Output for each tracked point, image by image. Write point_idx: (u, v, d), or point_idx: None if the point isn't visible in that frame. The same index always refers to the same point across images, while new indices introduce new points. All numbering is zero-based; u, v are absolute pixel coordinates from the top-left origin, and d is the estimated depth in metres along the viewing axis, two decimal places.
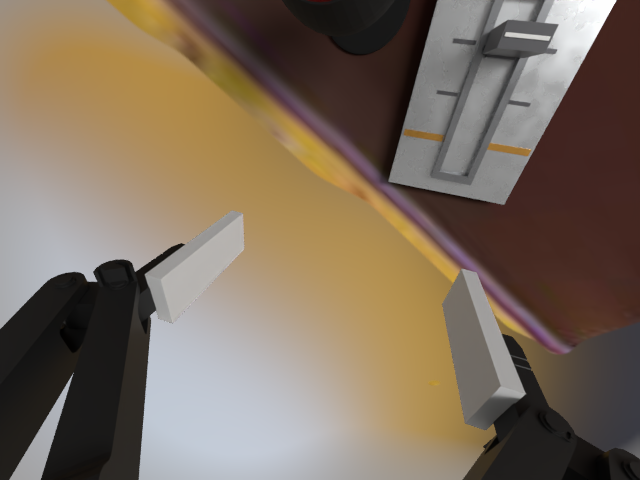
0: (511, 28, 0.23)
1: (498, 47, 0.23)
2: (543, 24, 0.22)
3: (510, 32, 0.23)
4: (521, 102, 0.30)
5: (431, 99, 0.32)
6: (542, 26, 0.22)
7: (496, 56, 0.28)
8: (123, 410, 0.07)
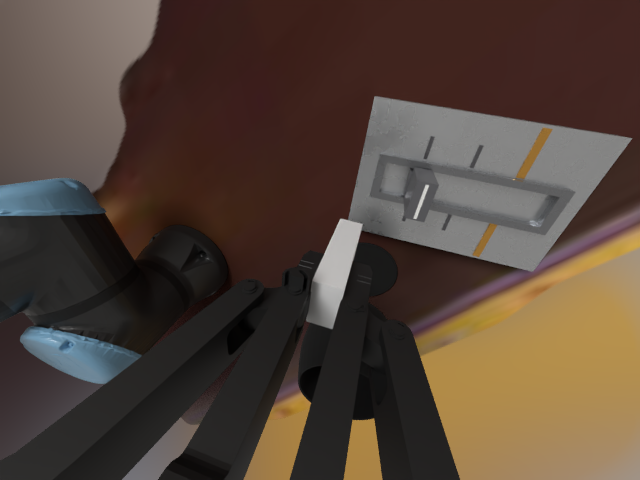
0: (411, 214, 0.26)
1: (424, 220, 0.26)
2: (414, 192, 0.25)
3: (414, 215, 0.26)
4: (475, 154, 0.27)
5: (449, 233, 0.33)
6: (415, 192, 0.25)
7: None
8: (254, 422, 0.07)
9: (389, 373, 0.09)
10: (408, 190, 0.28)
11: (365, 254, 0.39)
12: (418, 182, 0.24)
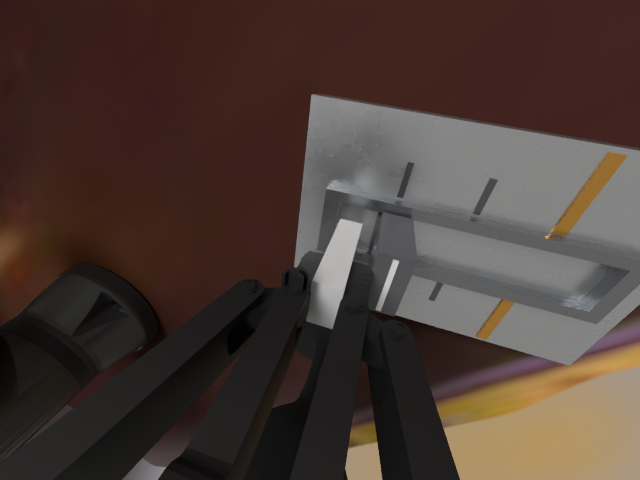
0: (372, 302, 0.15)
1: (394, 313, 0.15)
2: (374, 269, 0.14)
3: (377, 304, 0.15)
4: (483, 193, 0.16)
5: (440, 305, 0.21)
6: (376, 270, 0.14)
7: None
8: (254, 422, 0.07)
9: (389, 373, 0.09)
10: (372, 251, 0.17)
11: None
12: (380, 255, 0.13)
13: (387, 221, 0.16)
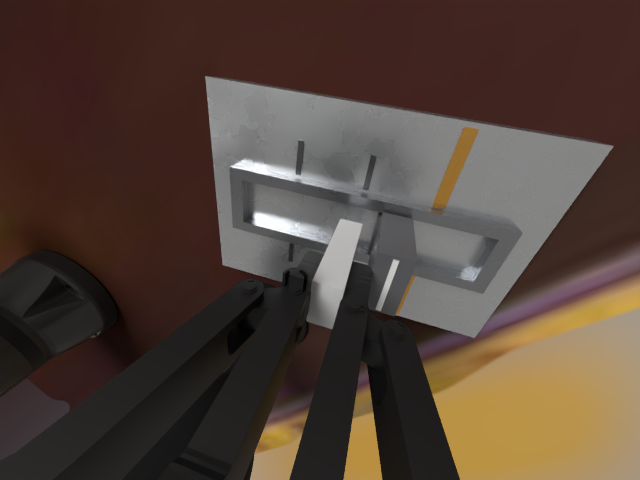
0: (372, 302, 0.15)
1: (394, 313, 0.15)
2: (374, 269, 0.14)
3: (377, 304, 0.15)
4: (368, 169, 0.17)
5: None
6: (376, 270, 0.14)
7: None
8: (254, 422, 0.07)
9: (389, 373, 0.09)
10: (372, 251, 0.17)
11: None
12: (380, 254, 0.13)
13: (387, 221, 0.16)
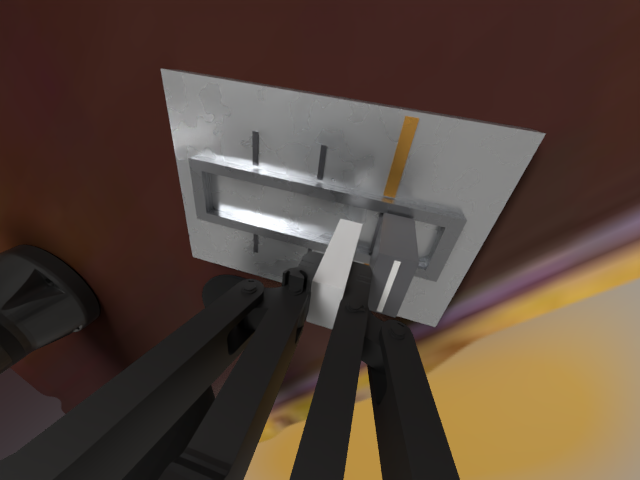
0: (373, 303, 0.15)
1: (395, 315, 0.15)
2: (375, 270, 0.13)
3: (378, 305, 0.15)
4: (320, 159, 0.18)
5: None
6: (377, 271, 0.13)
7: None
8: (254, 422, 0.07)
9: (389, 373, 0.09)
10: (373, 251, 0.17)
11: None
12: (381, 255, 0.13)
13: (388, 221, 0.16)
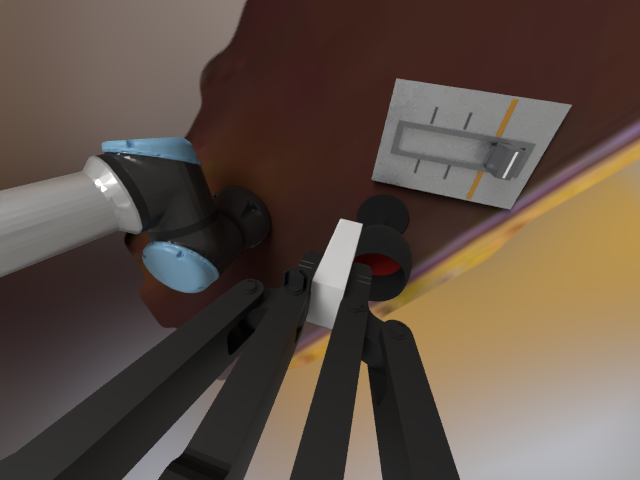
0: (501, 174, 0.36)
1: (509, 179, 0.36)
2: (506, 157, 0.35)
3: (503, 175, 0.36)
4: (467, 119, 0.39)
5: (448, 181, 0.44)
6: (507, 158, 0.35)
7: None
8: (254, 422, 0.07)
9: (389, 373, 0.09)
10: (493, 159, 0.38)
11: (384, 203, 0.51)
12: (510, 150, 0.34)
13: (503, 144, 0.37)
